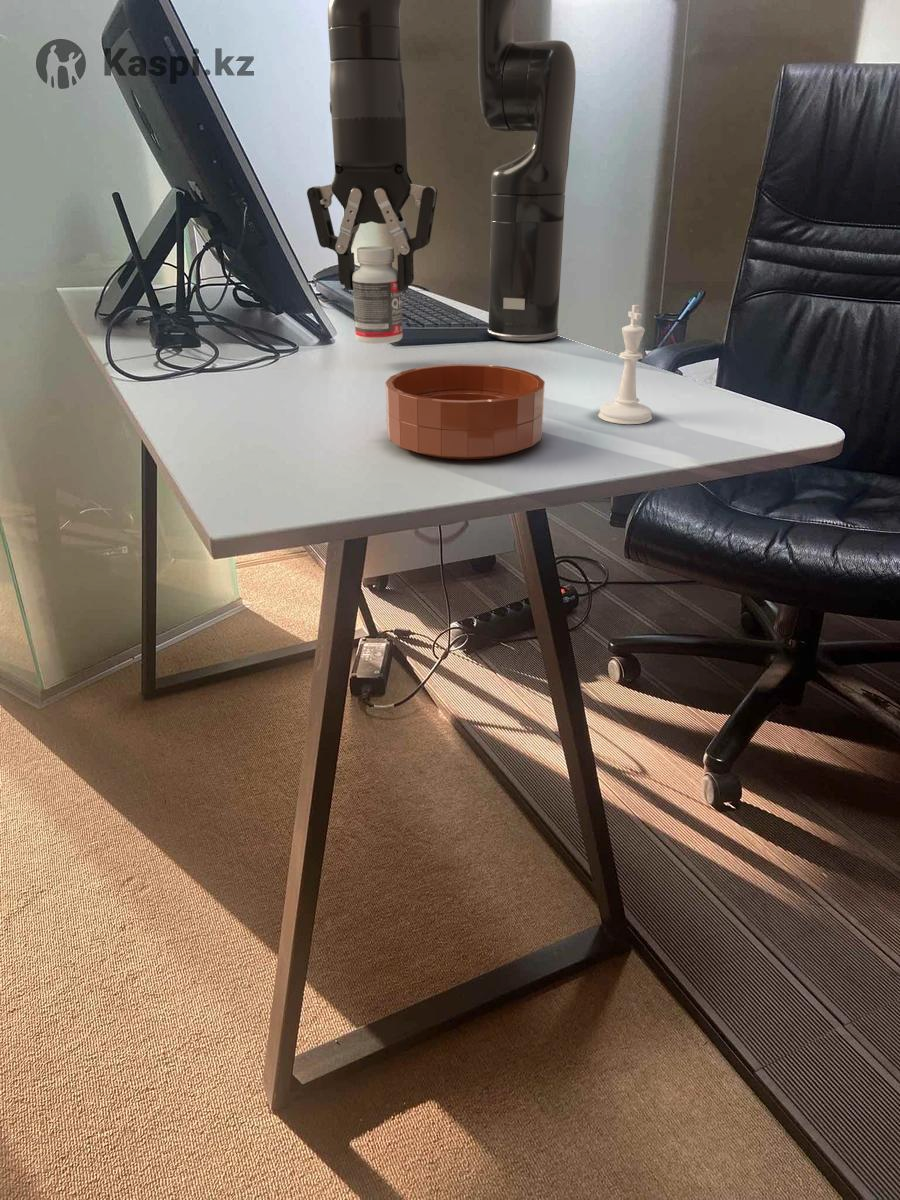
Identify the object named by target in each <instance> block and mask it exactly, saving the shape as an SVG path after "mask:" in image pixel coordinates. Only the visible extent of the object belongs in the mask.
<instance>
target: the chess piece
mask: <svg viewBox="0 0 900 1200" xmlns="http://www.w3.org/2000/svg"><path fill="white" fill-rule="evenodd" d="M639 311H640V305H639V304H632V306H631V310H629V311H628V315H627V316H628V317H629V318H630V324H628V325H625V326H623V327H622V328H621V333H622V334H621V335H622V337H623V342H624V343H623V344H624V347H625V350H624V351H622V352H619V354H618V358H619V359H621V360H624V365H623V371H622V376H621V379H620V380H621V381H620V385H619V389H618V393H617V396H615V397H614V398H613V400H614V401H611V402H608V403H605V404H602V406H600V407H599V413H598V417H599V419H601V420H603V421H605V422H608V423H612V424H619V425H640V424H646V423H648V422H650V421H651V420H652V419H653V416H652V413H653V411H652V409H651V408H650V407H649V406H647V405H645V404H642V403H640V399H639V398H638V397H637V382H636V380H637V378H636V377H637V375H636V373H637V372H636V368H637V367H636V362H637V361H638V360H642V359H643V358H644V357H643V353H641V352H639V351H638V348H639V346H640V344H641V341H642V339H643V336H644V335H645V331H646V329H645V327H643V326H641V325H639V324H638V321H639V320H642V313H639Z"/></svg>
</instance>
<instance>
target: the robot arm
mask: <svg viewBox="0 0 900 1200" xmlns="http://www.w3.org/2000/svg"><path fill="white" fill-rule="evenodd" d="M401 2H402V0H328V6H327V28H328V29H327V30H328V43H329V44H328V46H329V59H330V73H329V74H330V75H329V112H330V113H329V114H330V116H331V130H332V147H333V160H334V161H333V163H334V176H333V178H332V181H331V184H326V185H322V186H320V185H316V186H312V187H308V189H307V191H306V197H307V200H308V205H309V209H310V212H311V216H312V220H313V224H314V229H315V233H316V237H317V241H318V244H319V246H320V247H321V248H323V249H324V248H327V249H329V250H332V251H334V252H335V254H336V256H337V269H338V280H339V283H340V285H342V286H344V290H345V291H353V284H352V275H353V272H354V271H355V270H356V266H355V265H356V264H355V252H352V248H353V244H354V241H355V238H356V235H357V233H358V231H359V229H360V225H362V224H367V223H375V224H378V225H379V224H380V225H386V226H387V228H388V230H389V233H390V235H392V237H393V240H394V242H395V245H396V247H397V249H398V252H399V254H397V270H398V288H399V291H401V292H407V291H408V290H409V287H410V286H411V285H412V284H413V282H414V279H415V272H414V267H415V265H414V254H415V252H416V251H418V250H420V249H424V248H425V247H426V246H428V245H429V244H430V242H431V236H432V229H433V224H434V219H435V218H434V217H435V213H436V212H435V211H436V204H437V198H438V189H437V187H436V186H435V185H429V186H425V185H421V184H415V183H413V181H412V179H411V177H410V175H409V171H408V152H407V151H408V150H407V149H408V148H407V117H406V116H407V115H406V113H407V112H406V89H405V80H404V74H403V73H404V72H403V63H402V33H401V31H402V30H401V17H400V9H401V4H402V3H401ZM516 2H517V1H516V0H477V66H478V67H477V71H478V72H477V73H478V75H477V76H478V92H479V93H478V95H479V103H480V109H481V113H482V117H483V120H484V121H485V124H486V125H487V127H488V128H489V130H491V131H493V132H498V133H499V132H500V133H501V132H502V133H535V136H534V137H535V138H534V141H533V144H532V146H531V147H530V148H529V149H528V150H527V151H526V152H525V153H523V154H522V155H521V156H519V157H518V158H516V159H514V160H512V161H510V162H507V163H504V164H501V165H499V166H497V167H496V168H495V169H493V171H492V173H491V179H490V242H489V245H490V246H489V288H488V289H489V290H488V327H489V328H490V329H491V330H489V328H488V327H487V336H488V337H489V338H493V339H496V340H502V341H508V342H542V341H549V340H553V339H555V338H558V336H559V328H558V325H559V310H560V292H561V276H562V255H563V254H562V253H563V239H564V220H565V219H564V218H565V204H566V203H565V201H566V194H565V193H566V182H567V181H566V180H567V176H568V175H567V174H568V167H569V159H570V158H569V157H570V143H571V142H570V141H571V133H572V132H571V131H572V123H573V113H574V107H575V106H574V105H575V95H576V79H577V78H576V75H577V74H576V73H577V71H576V61H575V56H574V53H573V50H572V48H571V47H570V45H569V44H568V43H567V42H565V41H564V40H557V39H556V40H552V39H551V40H533V41H532V40H531V41H516V42H515V40H514V21H515V20H514V19H515V9H516ZM410 195H411V196H412V197H413V199H414V205H415V207H416V208H417V209H419V211H418V216H417V217H418V218H417V224H416V232H415V236H413V237H411V234H410V232H409V230H408V224H407V222H406V220H405V217H404V215H403V212H402V208H403V207H404V205H405V204H406V202H407V200H408V199H409V197H410ZM333 196H334V197H335V198H336V199H337V201H338V202H339V204H340V205H341V207H342V208H343V210H344V214H343V217H342V220H341V223H340V226H339V229H340V230H339V232H338V236H337V235H335V230H334V226H333V222H332V217H331V214H330V210H329V207H331V206H332V201H333V200H332V199H333V198H332V197H333Z"/></svg>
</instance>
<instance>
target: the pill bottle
mask: <svg viewBox="0 0 900 1200" xmlns="http://www.w3.org/2000/svg"><path fill="white" fill-rule="evenodd" d="M356 256H357V258H356V260H357V263H358V264H359V268H357V269H355V271H354V272H353V275H352V284H353V290H352V297H353V298H352V299H353V314H354V316H353V318H354V331H355V339H356V341H358V342H360V343H362V344H370V345H384V344H392V343H397V342H399V341H401V340H402V339H403V335H404V334H403V302H402V301H403V300H402V291H399V288H398V268H397V269H396V268H394V267H393V263H394V262H395V249H394V247H393V246H385V245H373V246H371V245H370V246H369V245H368V246H361V247H358V248H357V250H356Z"/></svg>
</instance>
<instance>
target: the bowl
mask: <svg viewBox="0 0 900 1200" xmlns="http://www.w3.org/2000/svg"><path fill="white" fill-rule="evenodd" d="M384 383H385V408H386V411H385V412H386V433H387V437H388V438H389V441H390V442H392V443H393V444H395V445H397V446H398V447H400V448H402V449H406V450H409V451H412V452H414V453H416V454H420V455H424V456H428V457H433V458H439V459H447V460H483V459H492V458H497V457H504V456H507V455H511V454H513V453H516V452H519V451H523V450H525V449H528V448H531V447H533V446H534V445H536V444H537V443H538V442H539V441H541V440H542V436H543V426H544V407H545V406H544V405H545V403H544V402H545V386H546V385H545V384H546V382H545V380H544V379H543V378H541V377H540V376H539V375H537V374H535V373H532V372H529V371H527V370H523V369H519V368H515V367H514V368H513V367H509V366H502V365H494V364H493V365H492V364H474V363H473V364H471V363H470V364H469V363H456V364H454V363H453V364H438V365H436V364H435V365H430V366H420V367H417V368H416V367H415V368H411V369H406V370H403V371H400V372H398V373H395V374H393V375H391V376H389V377H388V379H387V380H386V381H385V382H384Z"/></svg>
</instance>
